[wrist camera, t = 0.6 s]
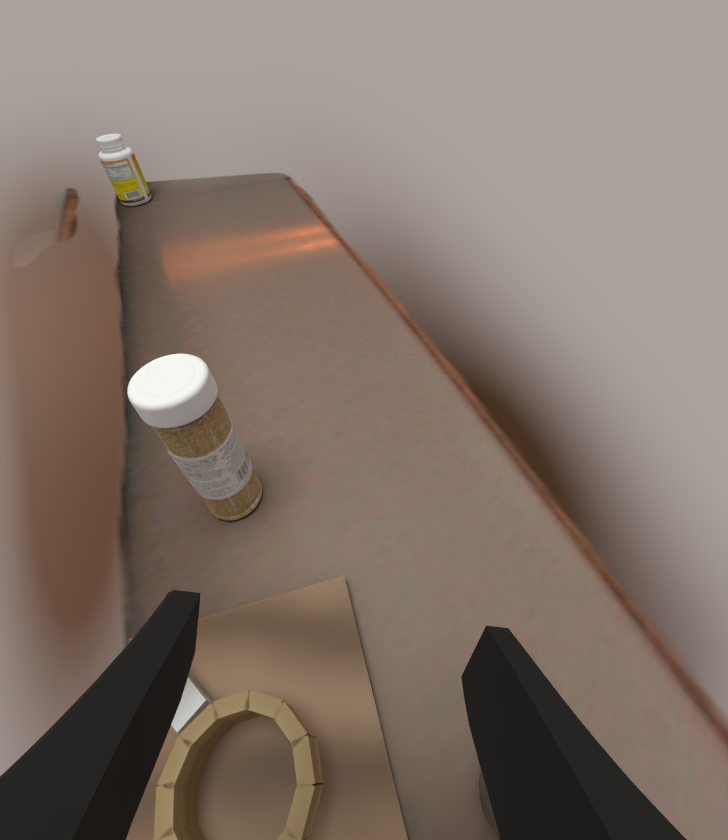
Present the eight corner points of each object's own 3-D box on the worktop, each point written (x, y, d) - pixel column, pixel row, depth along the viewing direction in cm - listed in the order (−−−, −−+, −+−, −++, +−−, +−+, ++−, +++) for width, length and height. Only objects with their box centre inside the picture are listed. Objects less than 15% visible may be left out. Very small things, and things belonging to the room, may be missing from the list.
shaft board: (448, 1006, 17) (459, 1057, 14) (90, 1168, 15) (13, 1267, 12) (345, 580, 28) (339, 557, 25) (136, 642, 27) (103, 625, 24)
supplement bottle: (138, 193, 79) (110, 130, 71) (159, 197, 77) (132, 133, 69) (115, 205, 76) (83, 140, 68) (136, 209, 74) (105, 143, 66)
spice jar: (227, 468, 35) (159, 344, 25) (274, 482, 34) (222, 358, 24) (196, 514, 32) (105, 395, 22) (245, 531, 31) (174, 414, 21)
